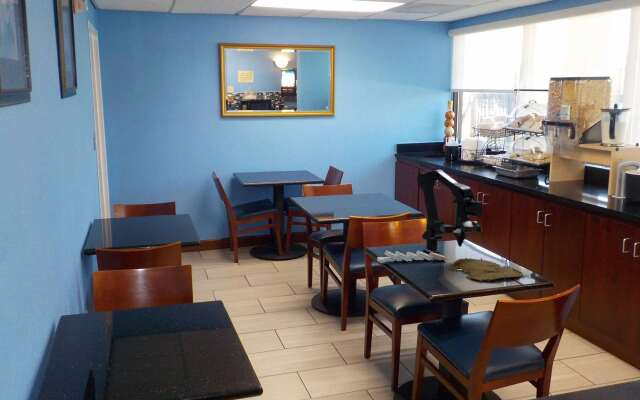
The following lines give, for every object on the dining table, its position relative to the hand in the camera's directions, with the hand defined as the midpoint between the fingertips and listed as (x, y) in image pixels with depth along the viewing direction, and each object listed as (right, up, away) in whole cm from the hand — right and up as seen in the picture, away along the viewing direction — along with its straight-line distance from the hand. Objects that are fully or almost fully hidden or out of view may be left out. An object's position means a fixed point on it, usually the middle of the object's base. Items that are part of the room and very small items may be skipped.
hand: (459, 246), depth 272 cm
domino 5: (-14, -6, -1) cm, 15 cm away
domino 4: (-18, -6, -2) cm, 19 cm away
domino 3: (-24, -6, -5) cm, 25 cm away
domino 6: (-8, -6, -1) cm, 10 cm away
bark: (+7, -10, -19) cm, 23 cm away
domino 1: (-32, -6, -5) cm, 33 cm away
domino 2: (-29, -5, -5) cm, 30 cm away
